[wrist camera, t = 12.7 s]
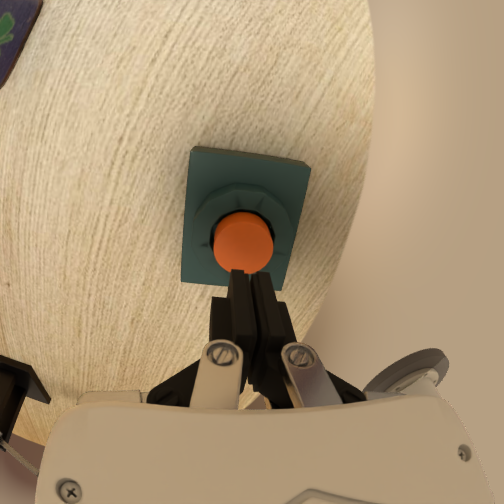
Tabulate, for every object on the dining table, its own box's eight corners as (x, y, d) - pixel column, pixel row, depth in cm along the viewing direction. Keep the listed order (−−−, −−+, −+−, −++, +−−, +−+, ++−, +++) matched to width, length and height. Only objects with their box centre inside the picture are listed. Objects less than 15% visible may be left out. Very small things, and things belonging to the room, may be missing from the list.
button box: (194, 146, 19) (186, 155, 16) (303, 161, 20) (319, 174, 17) (183, 267, 24) (177, 296, 20) (277, 276, 25) (285, 305, 21)
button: (217, 208, 18) (216, 218, 16) (274, 215, 18) (278, 226, 17) (211, 258, 19) (210, 272, 18) (264, 263, 20) (267, 277, 18)
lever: (50, 473, 19) (42, 486, 17) (65, 484, 21) (58, 496, 19) (-19, 412, 20) (-26, 421, 18) (-3, 428, 23) (-10, 438, 21)
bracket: (31, 365, 30) (-1, 440, 17) (51, 399, 34) (29, 466, 22) (-19, 347, 28) (-51, 408, 16) (2, 381, 32) (-22, 438, 20)
